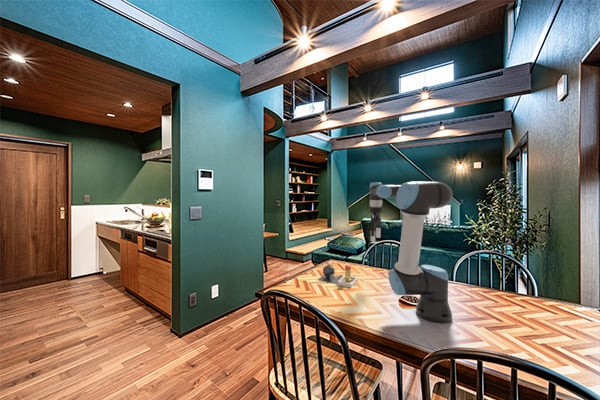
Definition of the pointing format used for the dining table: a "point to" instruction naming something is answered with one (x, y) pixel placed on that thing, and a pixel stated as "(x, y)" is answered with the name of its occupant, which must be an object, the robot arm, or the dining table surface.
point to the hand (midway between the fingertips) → (375, 239)
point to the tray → (346, 282)
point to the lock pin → (348, 274)
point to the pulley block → (329, 275)
